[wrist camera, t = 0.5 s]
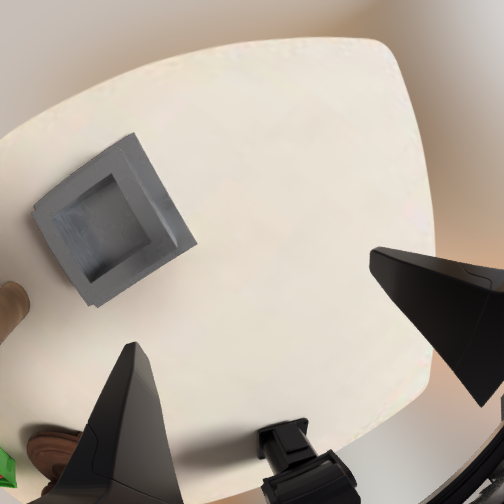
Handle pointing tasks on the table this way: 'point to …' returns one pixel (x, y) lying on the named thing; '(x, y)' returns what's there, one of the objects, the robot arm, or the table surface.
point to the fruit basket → (7, 471)
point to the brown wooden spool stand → (51, 454)
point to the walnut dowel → (12, 307)
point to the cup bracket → (112, 222)
